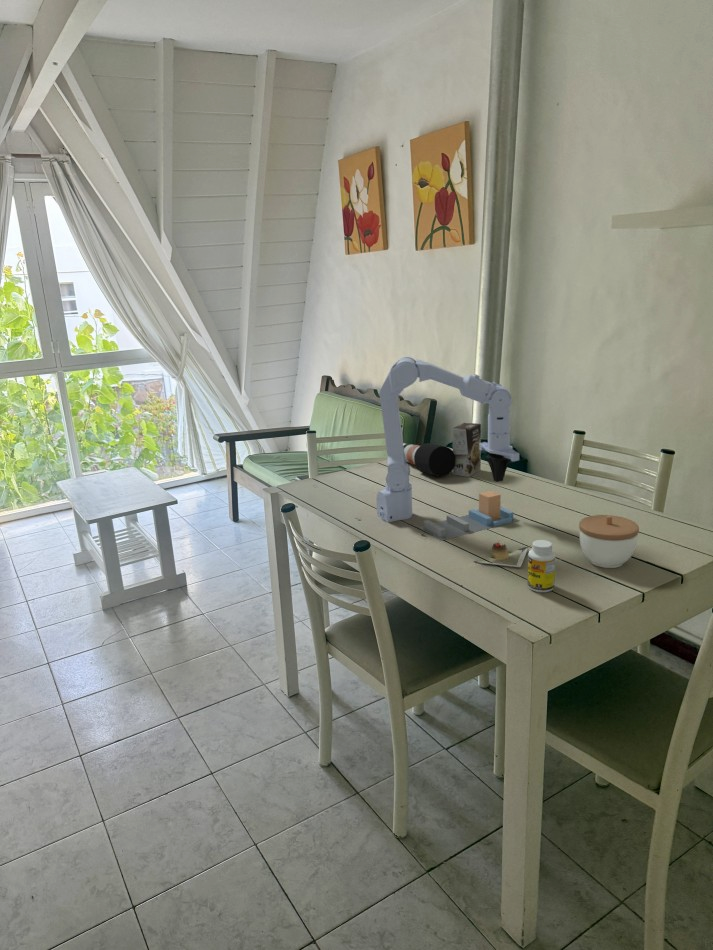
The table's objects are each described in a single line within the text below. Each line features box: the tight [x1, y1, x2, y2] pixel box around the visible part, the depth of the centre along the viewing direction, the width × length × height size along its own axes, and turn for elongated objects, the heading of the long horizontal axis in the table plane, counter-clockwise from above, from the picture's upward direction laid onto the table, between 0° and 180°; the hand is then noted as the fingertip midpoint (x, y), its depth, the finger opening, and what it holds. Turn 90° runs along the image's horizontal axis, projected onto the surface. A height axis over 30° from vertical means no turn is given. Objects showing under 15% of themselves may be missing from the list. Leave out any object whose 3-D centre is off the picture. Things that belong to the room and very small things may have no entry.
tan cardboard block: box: [478, 490, 501, 521], centre depth 179 cm, size 4×4×7 cm
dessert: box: [473, 539, 529, 568], centre depth 158 cm, size 12×12×5 cm
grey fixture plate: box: [417, 506, 520, 541], centre depth 177 cm, size 25×11×3 cm, turn 117°
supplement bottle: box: [527, 539, 557, 593], centre depth 141 cm, size 6×6×10 cm
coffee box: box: [452, 422, 482, 478], centre depth 221 cm, size 9×6×16 cm
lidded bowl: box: [578, 514, 640, 569], centre depth 151 cm, size 13×13×11 cm
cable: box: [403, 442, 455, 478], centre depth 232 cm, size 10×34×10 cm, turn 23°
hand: (498, 480), depth 180 cm, fingers closed
